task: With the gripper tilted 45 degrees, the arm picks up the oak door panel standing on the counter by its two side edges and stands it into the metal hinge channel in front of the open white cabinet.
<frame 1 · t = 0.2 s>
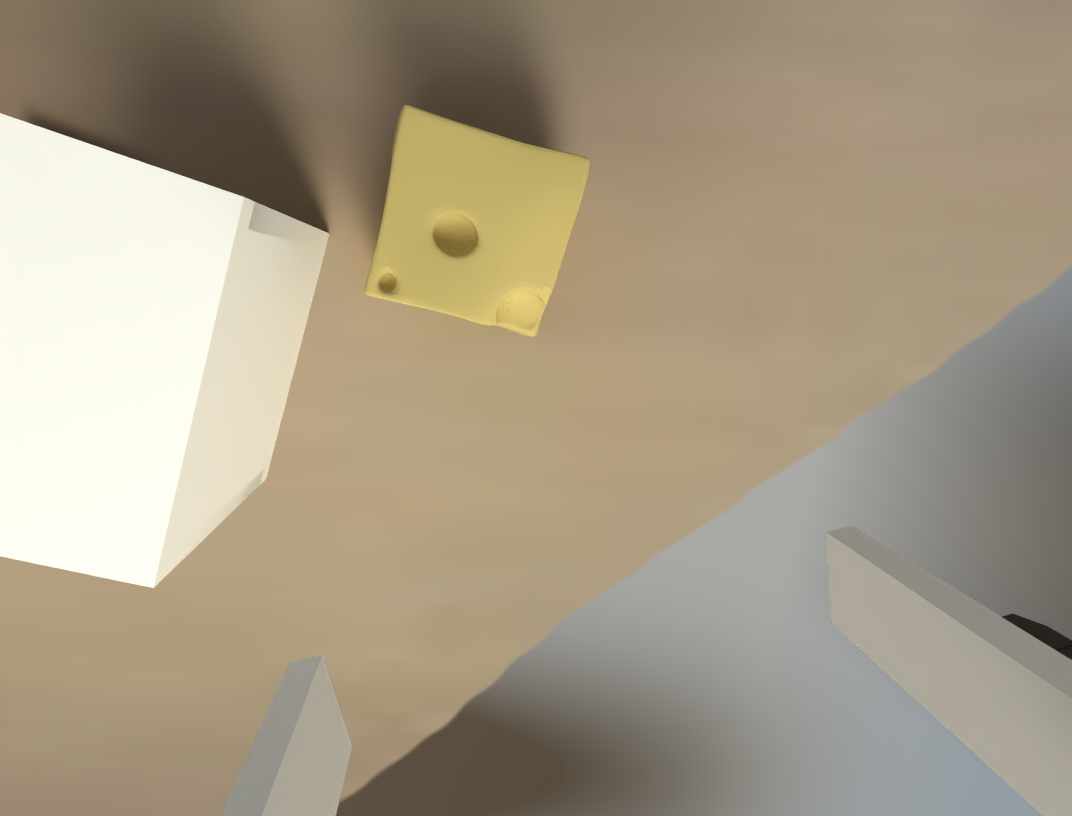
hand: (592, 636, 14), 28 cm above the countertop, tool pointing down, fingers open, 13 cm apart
cabinet: (221, 338, 37), on the countertop
cheese: (471, 242, 38), on the countertop
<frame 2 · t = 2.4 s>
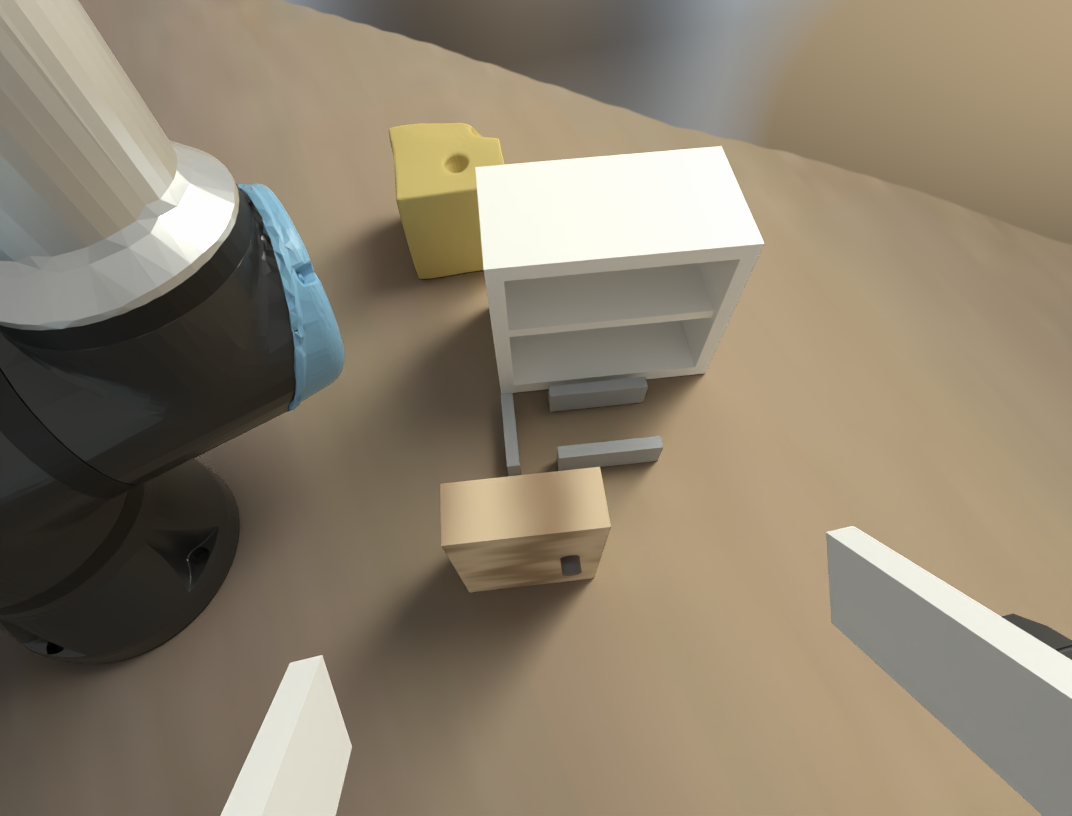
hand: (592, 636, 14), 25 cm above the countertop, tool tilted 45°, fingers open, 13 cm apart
cabinet: (594, 337, 50), on the countertop
door: (529, 560, 40), on the countertop
cheese: (462, 242, 57), on the countertop
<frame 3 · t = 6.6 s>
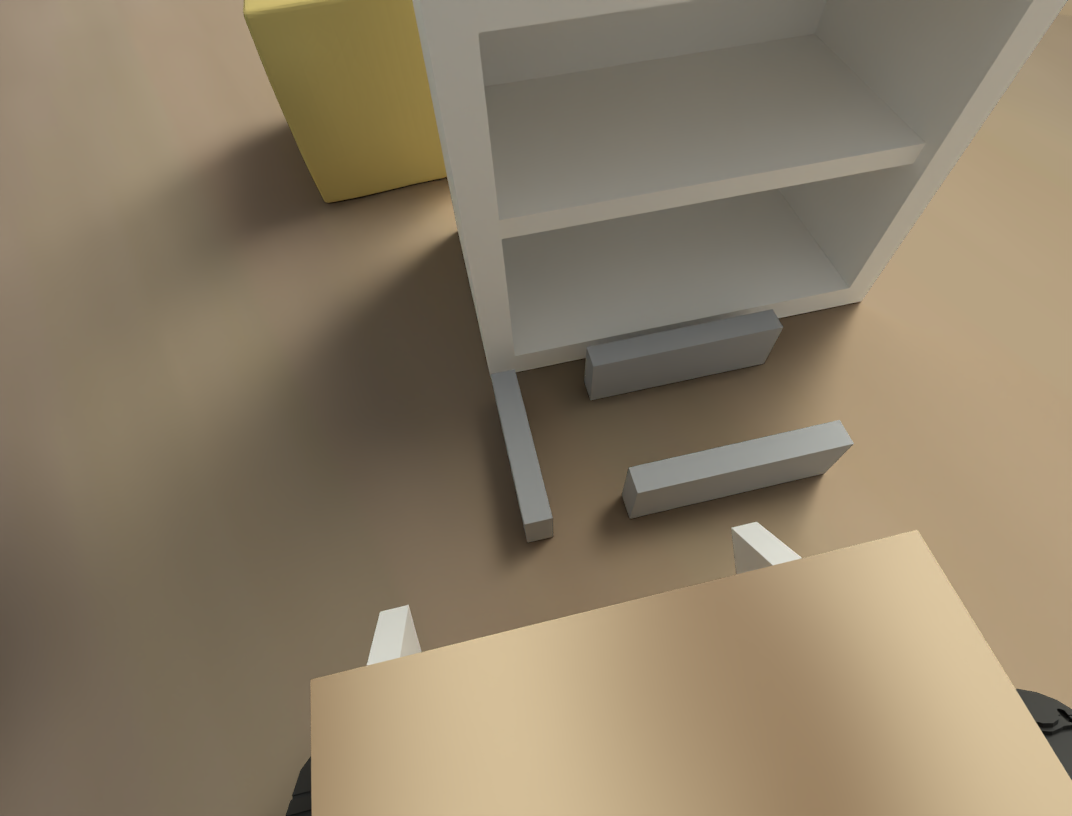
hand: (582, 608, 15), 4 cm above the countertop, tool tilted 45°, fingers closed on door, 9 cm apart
cabinet: (646, 263, 28), on the countertop
door: (604, 742, 17), on the countertop, touching gripper
cheese: (396, 146, 34), on the countertop
when the fingers open (6 cm above the countertop, at t = 12.2 s): door drops 1 cm, resting in cabinet.
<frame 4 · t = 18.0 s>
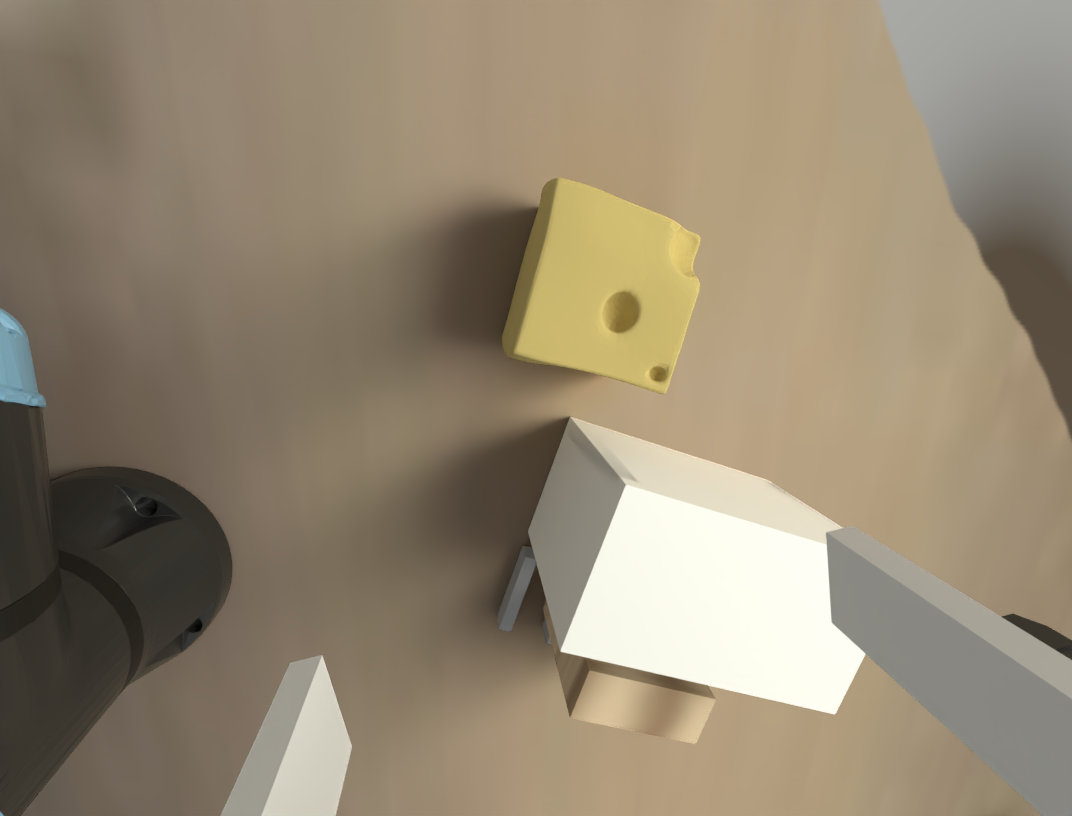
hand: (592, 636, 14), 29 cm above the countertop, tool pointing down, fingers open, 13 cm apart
cabinet: (650, 505, 45), on the countertop
door: (598, 603, 47), resting in cabinet
cheese: (578, 292, 41), on the countertop
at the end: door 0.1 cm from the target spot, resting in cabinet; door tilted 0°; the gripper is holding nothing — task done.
